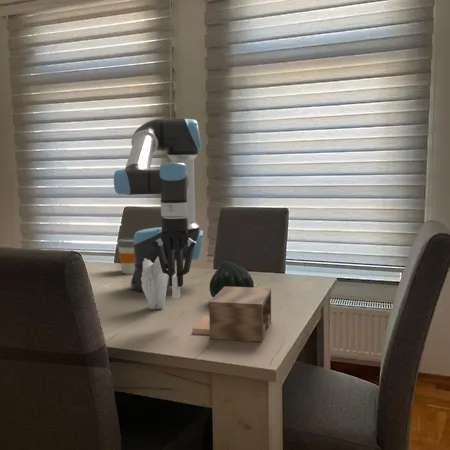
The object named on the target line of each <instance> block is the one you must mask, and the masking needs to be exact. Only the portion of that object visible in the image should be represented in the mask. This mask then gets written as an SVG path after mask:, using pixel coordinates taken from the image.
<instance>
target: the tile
mask: <svg viewBox="0 0 450 450" xmlns="http://www.w3.org/2000/svg"><path fill="white" fill-rule="evenodd" d="M192 333H194V334H193V335H195V334H196V335H207V334H210V317H209V315H204V316H203V317H202V318H201V319H200V320H199V321H198V322H197V323H196V324H195V325H194V326H193V328H192Z"/></svg>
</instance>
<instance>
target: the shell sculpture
mask: <svg viewBox="0 0 450 450" xmlns="http://www.w3.org/2000/svg"><path fill="white" fill-rule="evenodd" d="M144 260H145V261H143V271H142V277H141V281H142V289H143V291H144V292H143V293H144V296H145V298H146V300H147V303H148V308H149V309H150V310H162V309H163V308H164V307H165V305H166V304H165V303H166V297H167V296H166V294H167V291H168V288H167V283H168V278H169V275H168V274H164V273H163V272H162V269H161V265H160V261H159V257H157V259H156V260H155V263H152V262H151V261H150V260H147V259H146V258H144ZM160 273H161V274H160ZM150 280H151V281H150Z"/></svg>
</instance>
